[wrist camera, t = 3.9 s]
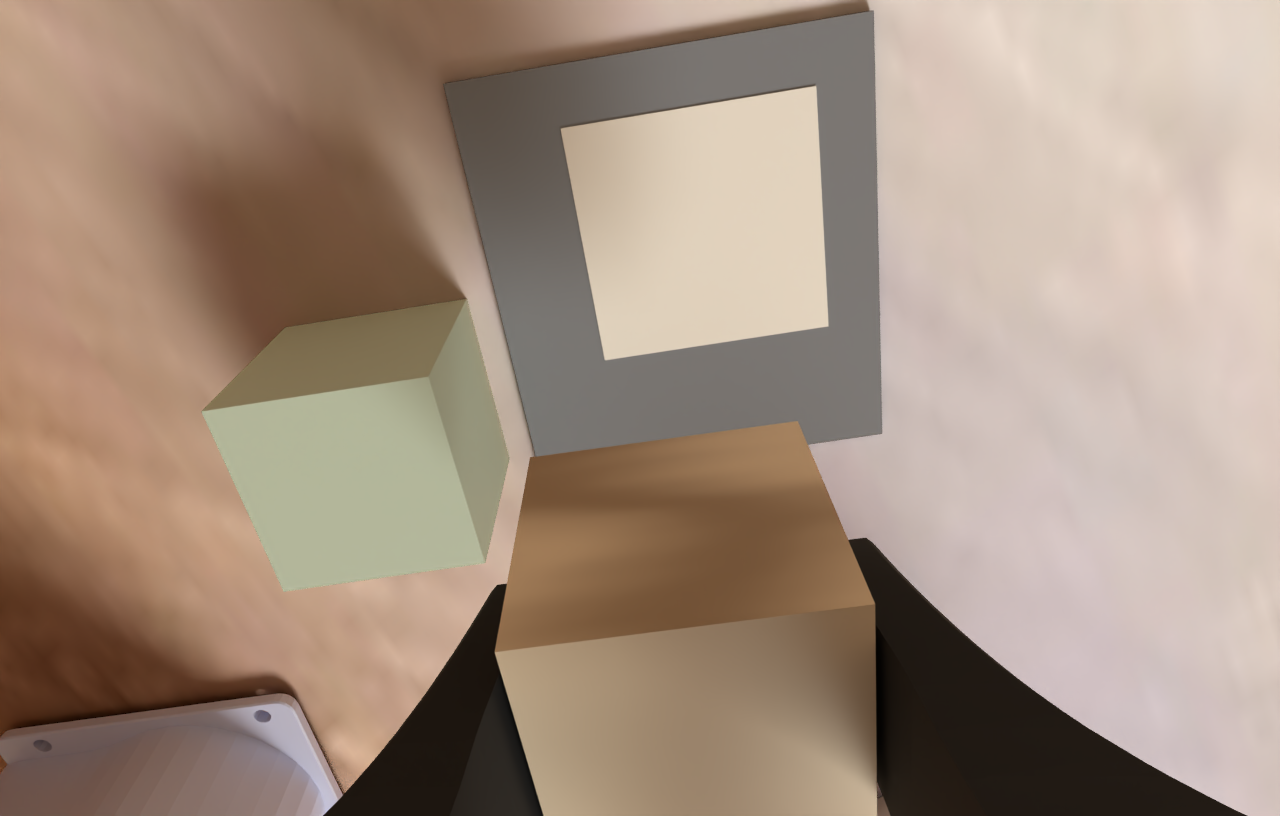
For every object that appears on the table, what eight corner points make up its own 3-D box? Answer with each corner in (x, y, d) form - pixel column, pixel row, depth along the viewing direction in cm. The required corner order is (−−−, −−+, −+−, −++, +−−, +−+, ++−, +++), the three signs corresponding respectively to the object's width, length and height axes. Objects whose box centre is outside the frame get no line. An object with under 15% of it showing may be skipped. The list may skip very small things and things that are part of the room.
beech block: (576, 655, 16) (564, 884, 12) (529, 457, 14) (494, 651, 10) (809, 626, 15) (877, 847, 11) (797, 421, 13) (875, 604, 9)
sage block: (345, 481, 22) (283, 591, 18) (286, 326, 20) (201, 411, 16) (509, 456, 21) (485, 563, 17) (467, 297, 19) (428, 376, 15)
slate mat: (542, 478, 22) (542, 483, 21) (444, 83, 17) (442, 84, 17) (880, 430, 21) (882, 434, 21) (870, 10, 17) (874, 10, 16)
